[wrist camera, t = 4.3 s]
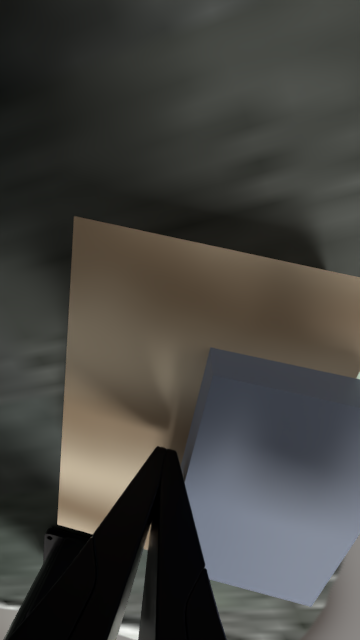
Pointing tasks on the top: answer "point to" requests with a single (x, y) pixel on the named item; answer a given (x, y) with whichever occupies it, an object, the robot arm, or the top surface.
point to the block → (274, 474)
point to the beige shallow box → (175, 346)
